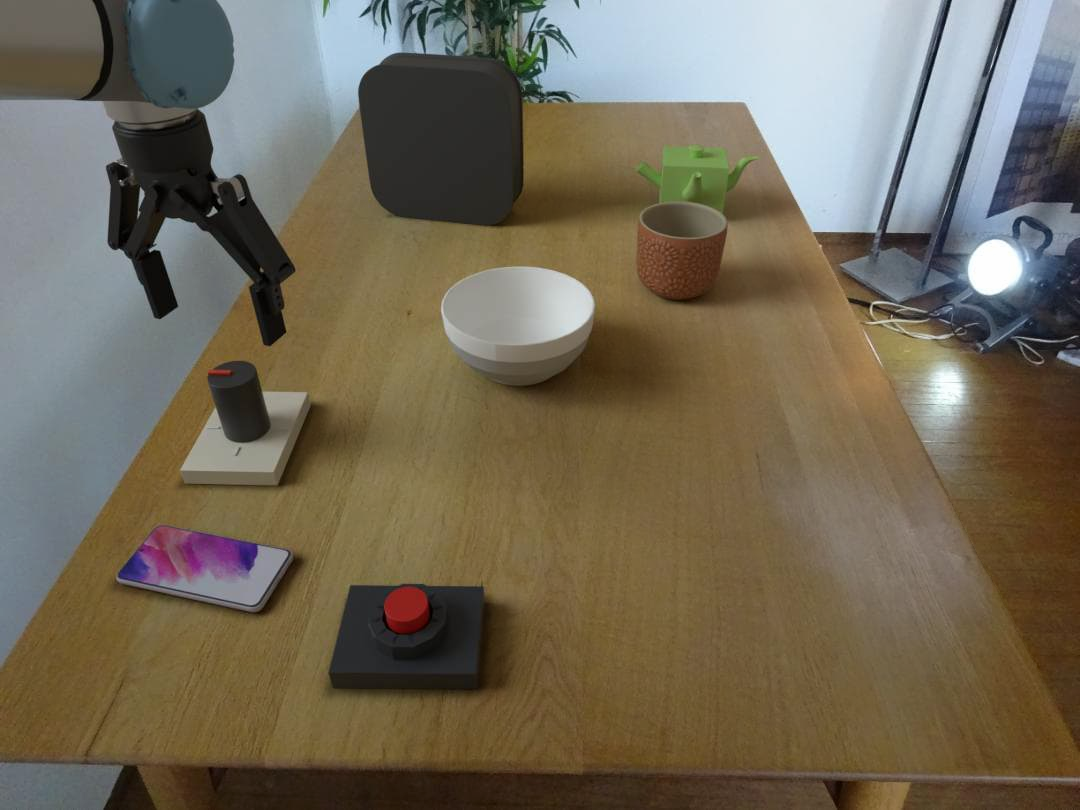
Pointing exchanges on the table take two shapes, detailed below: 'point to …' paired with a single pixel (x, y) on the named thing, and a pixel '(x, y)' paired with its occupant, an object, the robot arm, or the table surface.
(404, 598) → the power button
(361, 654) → the switch box
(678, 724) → the table surface
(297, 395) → the panel
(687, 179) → the kettle
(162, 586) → the smartphone
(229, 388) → the dial
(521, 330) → the bowl
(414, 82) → the speaker
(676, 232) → the planter
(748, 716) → the table surface
